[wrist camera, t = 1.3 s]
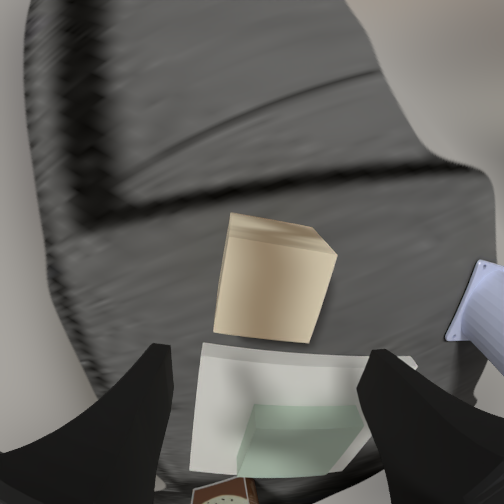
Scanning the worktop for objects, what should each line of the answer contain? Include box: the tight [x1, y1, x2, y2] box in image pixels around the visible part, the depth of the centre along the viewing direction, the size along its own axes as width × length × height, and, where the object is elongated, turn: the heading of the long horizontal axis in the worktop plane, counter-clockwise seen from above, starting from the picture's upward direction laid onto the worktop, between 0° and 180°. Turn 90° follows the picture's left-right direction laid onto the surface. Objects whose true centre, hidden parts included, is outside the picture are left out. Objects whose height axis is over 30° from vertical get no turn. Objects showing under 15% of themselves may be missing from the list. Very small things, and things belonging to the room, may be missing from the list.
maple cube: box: [213, 213, 337, 343], centre depth 16 cm, size 5×5×5 cm
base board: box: [189, 342, 418, 478], centre depth 22 cm, size 18×18×4 cm
